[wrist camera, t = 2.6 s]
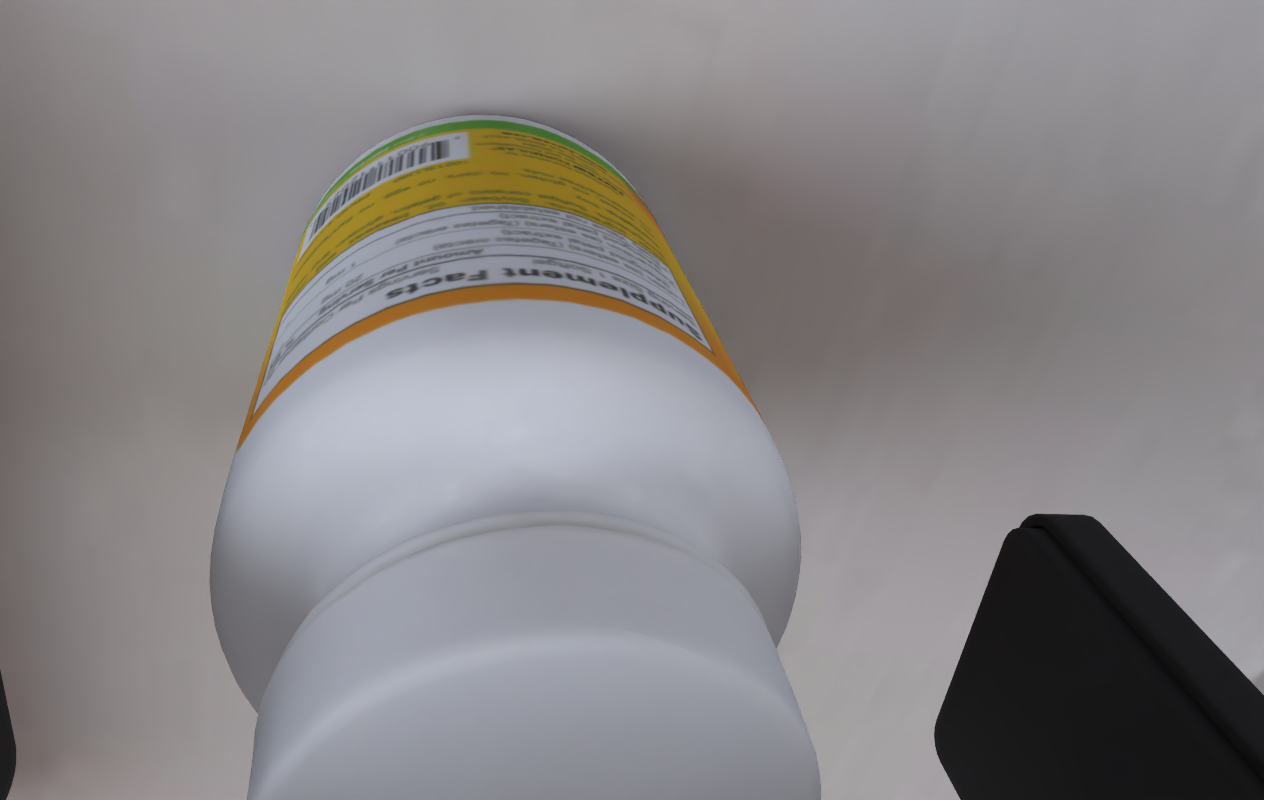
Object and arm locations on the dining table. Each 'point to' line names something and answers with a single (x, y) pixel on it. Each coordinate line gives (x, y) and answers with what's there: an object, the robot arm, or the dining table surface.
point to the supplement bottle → (505, 500)
